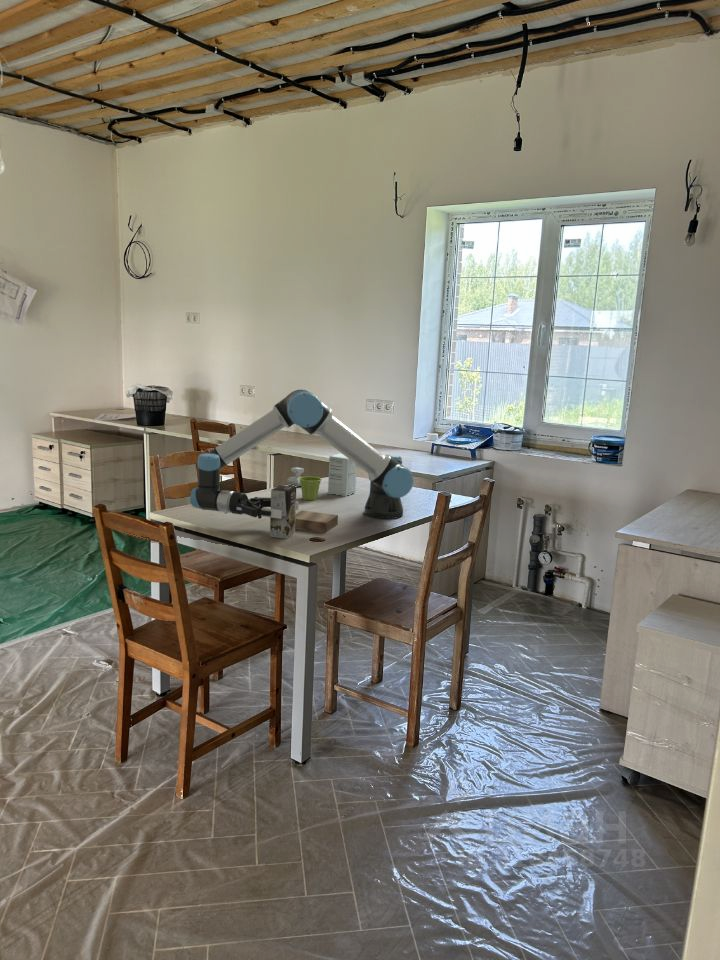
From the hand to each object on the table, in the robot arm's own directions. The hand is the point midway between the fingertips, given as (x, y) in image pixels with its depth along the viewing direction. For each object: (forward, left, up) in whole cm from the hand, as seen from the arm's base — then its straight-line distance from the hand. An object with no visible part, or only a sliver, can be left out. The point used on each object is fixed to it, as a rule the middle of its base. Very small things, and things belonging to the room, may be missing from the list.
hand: (289, 510), depth 224 cm
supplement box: (+8, -71, -9) cm, 72 cm away
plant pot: (+15, -54, -9) cm, 57 cm away
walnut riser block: (-2, -15, -9) cm, 18 cm away
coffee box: (+2, 0, -9) cm, 9 cm away
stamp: (+30, -75, -9) cm, 82 cm away
